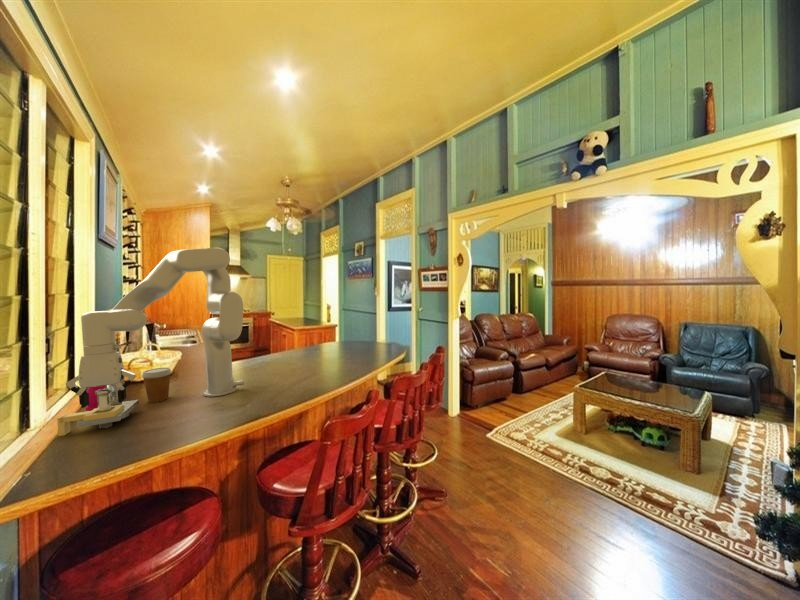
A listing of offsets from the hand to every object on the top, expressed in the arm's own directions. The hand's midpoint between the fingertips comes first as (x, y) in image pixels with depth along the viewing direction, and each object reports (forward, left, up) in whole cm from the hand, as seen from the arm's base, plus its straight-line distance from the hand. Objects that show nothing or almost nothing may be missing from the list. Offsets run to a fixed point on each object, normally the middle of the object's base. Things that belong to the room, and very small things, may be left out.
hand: (103, 403), depth 100 cm
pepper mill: (+10, -22, -8) cm, 25 cm away
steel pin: (0, 0, -8) cm, 8 cm away
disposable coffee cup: (-8, -24, -8) cm, 26 cm away
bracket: (+3, 0, -8) cm, 8 cm away
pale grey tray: (0, -4, -8) cm, 9 cm away
